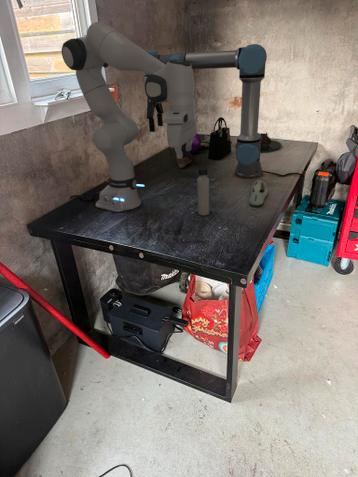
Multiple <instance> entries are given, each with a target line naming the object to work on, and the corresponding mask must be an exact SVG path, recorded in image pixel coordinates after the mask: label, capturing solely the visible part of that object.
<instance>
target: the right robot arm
mask: <svg viewBox="0 0 358 477" xmlns="http://www.w3.org/2000/svg"><path fill="white" fill-rule="evenodd" d="M146 51H147V52H149V53H151V54H152V55H154V56H156V57H157V58H159V59H160V60H162V61H163V62H165V63H166V64H167V62H168V61H170V60H184V61H187V62H189V63H190V64H191V66H192V70H207V69H208V70H210V69H233V68H234V69H237V70H238V71H239V74H238V79H239V81H241V102H240V104H241V105H240V107H241V108H240V109H241V110H240V126H239V127H240V128H239V129H240V131H239V134H238V135H237V137H236V143H237V148H236V150H235V153H234V154H235V155H234V156H235V160H236V161H237V165H236V167H235V170H234V174H235V176H236V177H239V178H243V179H255V178H259V177H261V176H262V175H263V173H265V174H269V175H275V176H279V177H287V176H289V175H292V176H293V175H298V176H300V177H301V178H305V176H304V174H302V173H300V172H287V173H285V174H280V173H277V172H273V171H267V170H263V169H262V165H261V153H260V150H261V139H262V138H261V132H258V131H259V117H260V101H261V88H262V87H261V86H262V81H263V80H264V79H265V75H266V64H267V58H268V55H267V51H266V49H265V48H264V47H263V46H262V45H260V44H258V43H251V44H248V45H246V46H241V47H238V48H237V49H231V50H215V51H214V50H213V51H198V52H178V53H170V54H159V52H158V50H146ZM143 74H144V82H145V81H146V78H147V77H148V76H149V75H150V74H148V73H146V72H143ZM155 110H156V120H157V127H164V123H163V114H164V108H163V104H162V103H153V102H151V101H150V100H149V99H148V97H147V98H146V119H147V120H148V127H149V132H150V133H154V132H156V126H155V118H154V115H155Z"/></svg>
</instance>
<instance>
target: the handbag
mask: <svg viewBox="0 0 358 477" xmlns="http://www.w3.org/2000/svg"><path fill="white" fill-rule="evenodd" d="M223 123H224V126H223ZM216 127H218V128H217V129H216ZM230 129H231V128H230V127H228V124H227V122H226V120H225V118H224V117H222V116H219V117H218V118H217V119H216V121H215V123H214V126H213V129H212V130H211V131H210V134H209V136H210V142H209V144H208V145H209V148H208V151H207V158H208V159H211V160H218V161H219V160H222V159H224V158H225V157H226V156H229V154H231V153H232V143H231V141H232V140H231V137H232V136H231V131H230Z"/></svg>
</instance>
